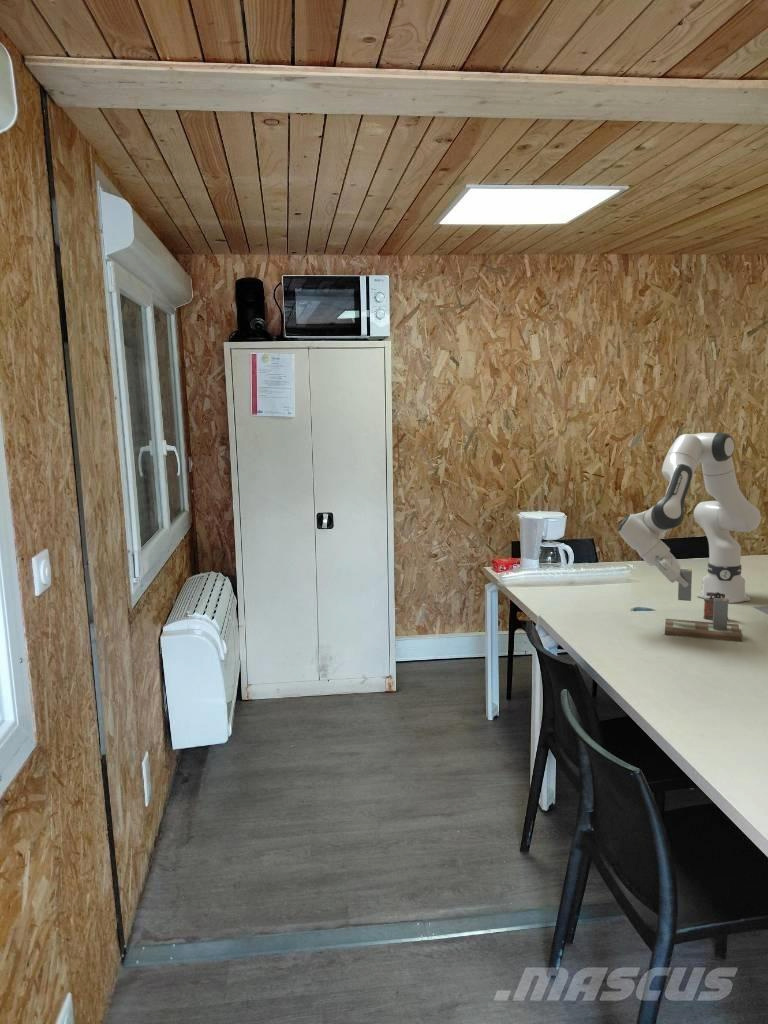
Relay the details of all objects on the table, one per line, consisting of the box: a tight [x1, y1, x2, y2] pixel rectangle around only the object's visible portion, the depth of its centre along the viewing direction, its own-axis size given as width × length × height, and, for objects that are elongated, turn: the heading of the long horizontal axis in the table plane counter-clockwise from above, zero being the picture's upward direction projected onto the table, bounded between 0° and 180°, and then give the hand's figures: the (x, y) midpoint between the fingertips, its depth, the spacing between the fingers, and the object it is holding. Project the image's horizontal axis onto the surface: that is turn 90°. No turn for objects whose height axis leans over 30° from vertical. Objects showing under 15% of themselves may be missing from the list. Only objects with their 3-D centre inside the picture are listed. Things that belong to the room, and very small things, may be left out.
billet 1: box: [677, 568, 693, 602], centre depth 226 cm, size 4×4×10 cm
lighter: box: [703, 592, 729, 621], centre depth 238 cm, size 8×3×10 cm, turn 74°
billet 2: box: [712, 598, 729, 631], centre depth 222 cm, size 4×4×10 cm
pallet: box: [664, 618, 743, 642], centre depth 225 cm, size 14×23×2 cm, turn 66°
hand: (687, 583), depth 225 cm, fingers closed on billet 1, 4 cm apart
